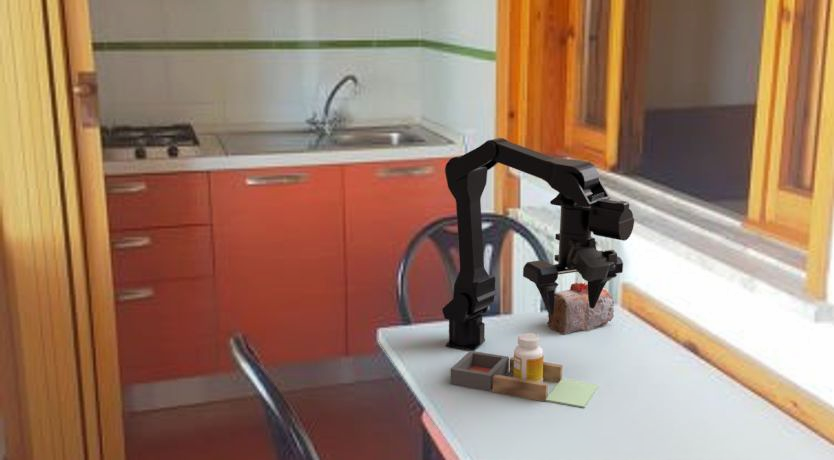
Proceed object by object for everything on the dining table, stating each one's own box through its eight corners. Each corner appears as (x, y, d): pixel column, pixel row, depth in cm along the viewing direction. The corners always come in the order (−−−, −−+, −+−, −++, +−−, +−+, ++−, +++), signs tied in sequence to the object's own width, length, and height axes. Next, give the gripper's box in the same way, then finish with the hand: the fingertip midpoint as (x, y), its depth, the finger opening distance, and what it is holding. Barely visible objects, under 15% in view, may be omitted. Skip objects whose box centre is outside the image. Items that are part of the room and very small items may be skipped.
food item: (592, 315, 210) (593, 274, 207) (616, 326, 203) (618, 283, 201) (544, 327, 203) (545, 283, 200) (567, 338, 196) (569, 293, 194)
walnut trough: (492, 391, 170) (493, 376, 169) (511, 371, 179) (511, 356, 178) (545, 401, 166) (546, 385, 165) (562, 379, 175) (562, 365, 174)
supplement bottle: (546, 383, 174) (547, 334, 171) (537, 394, 169) (538, 343, 166) (518, 378, 176) (519, 329, 173) (509, 389, 171) (510, 339, 169)
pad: (545, 401, 166) (545, 399, 166) (561, 380, 175) (561, 378, 175) (584, 407, 163) (584, 406, 163) (598, 386, 172) (598, 385, 172)
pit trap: (450, 383, 173) (450, 368, 173) (470, 364, 182) (470, 350, 181) (490, 391, 170) (490, 375, 169) (508, 371, 179) (509, 356, 178)
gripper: (556, 247, 160) (552, 332, 164) (644, 236, 167) (638, 317, 171) (522, 232, 169) (520, 312, 173) (607, 222, 177) (602, 299, 181)
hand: (571, 311), depth 175 cm, fingers open, 9 cm apart
